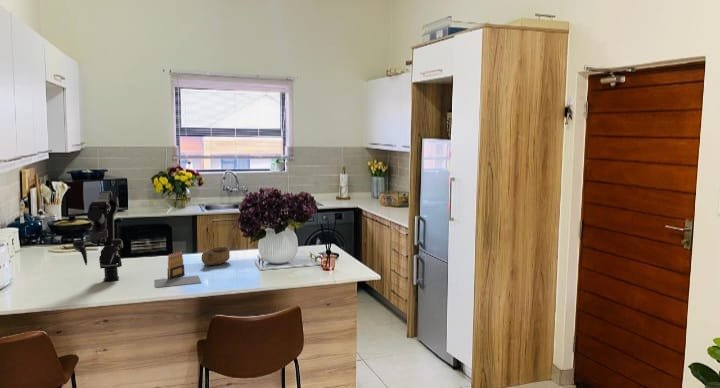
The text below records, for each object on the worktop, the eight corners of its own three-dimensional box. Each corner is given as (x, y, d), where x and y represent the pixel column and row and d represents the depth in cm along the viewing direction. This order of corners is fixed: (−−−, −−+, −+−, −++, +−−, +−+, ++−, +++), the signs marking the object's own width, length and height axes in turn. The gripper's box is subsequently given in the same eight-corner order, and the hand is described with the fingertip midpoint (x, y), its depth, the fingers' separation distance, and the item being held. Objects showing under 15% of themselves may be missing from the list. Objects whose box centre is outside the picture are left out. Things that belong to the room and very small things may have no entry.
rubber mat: (154, 280, 261) (154, 279, 261) (198, 276, 269) (198, 275, 269) (155, 287, 248) (155, 287, 248) (201, 283, 256) (201, 282, 256)
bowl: (223, 266, 283) (217, 247, 282) (199, 272, 286) (193, 254, 285) (236, 258, 300) (231, 240, 300) (213, 264, 303) (208, 247, 302)
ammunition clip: (170, 279, 261) (169, 254, 261) (167, 279, 262) (166, 254, 261) (184, 274, 272) (183, 250, 271) (181, 274, 272) (180, 250, 271)
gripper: (71, 224, 228) (69, 261, 222) (119, 222, 233) (119, 258, 228) (76, 232, 238) (75, 267, 232) (123, 229, 243) (122, 264, 238)
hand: (98, 264), depth 232 cm, fingers open, 9 cm apart
